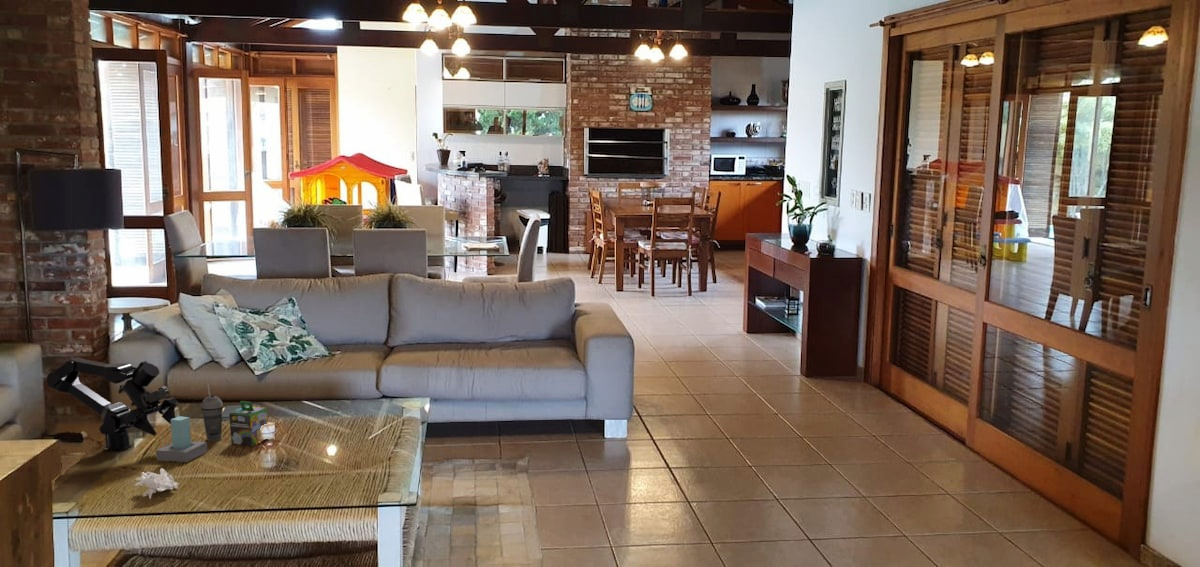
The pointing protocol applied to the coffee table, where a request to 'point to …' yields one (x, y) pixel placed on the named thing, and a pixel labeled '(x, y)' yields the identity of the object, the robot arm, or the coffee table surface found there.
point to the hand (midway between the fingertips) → (166, 431)
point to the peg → (180, 432)
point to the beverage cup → (212, 416)
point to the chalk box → (247, 424)
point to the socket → (181, 452)
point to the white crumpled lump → (157, 482)
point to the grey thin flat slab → (232, 408)
